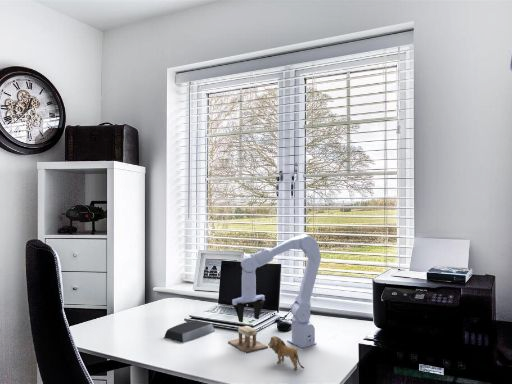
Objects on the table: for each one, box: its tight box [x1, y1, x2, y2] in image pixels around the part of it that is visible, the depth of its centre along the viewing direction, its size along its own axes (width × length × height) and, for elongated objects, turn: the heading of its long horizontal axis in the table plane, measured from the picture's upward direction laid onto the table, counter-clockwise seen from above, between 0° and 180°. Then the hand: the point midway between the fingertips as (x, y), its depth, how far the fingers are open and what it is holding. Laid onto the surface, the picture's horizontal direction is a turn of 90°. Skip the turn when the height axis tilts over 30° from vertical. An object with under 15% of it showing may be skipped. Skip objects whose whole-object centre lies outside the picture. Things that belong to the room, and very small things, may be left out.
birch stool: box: [237, 325, 258, 347], centre depth 174 cm, size 4×7×6 cm, turn 34°
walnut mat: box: [227, 337, 269, 354], centre depth 174 cm, size 14×10×1 cm
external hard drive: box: [164, 320, 215, 344], centre depth 187 cm, size 13×19×4 cm
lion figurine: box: [267, 335, 305, 371], centre depth 154 cm, size 15×5×9 cm, turn 52°
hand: (248, 320), depth 175 cm, fingers open, 7 cm apart
